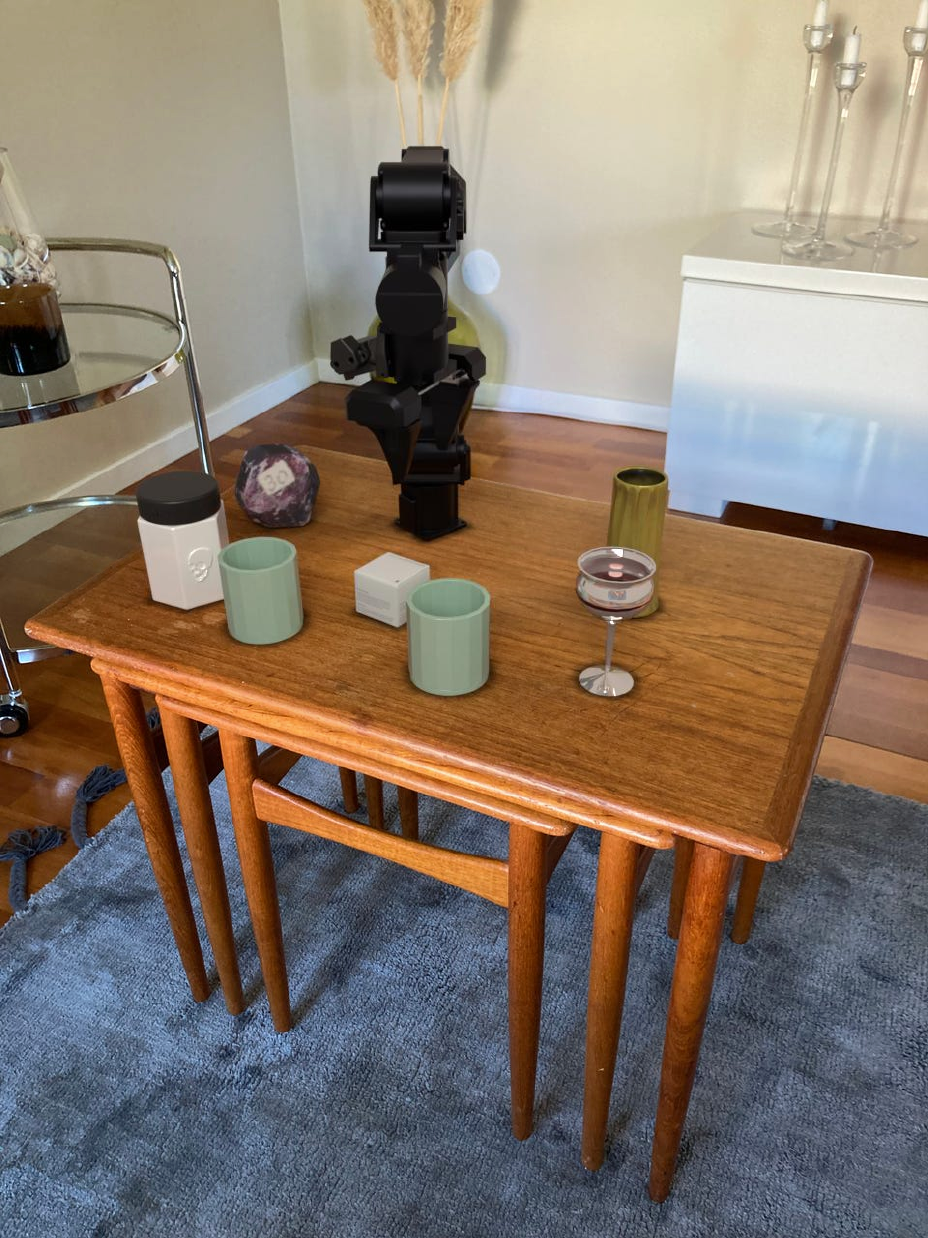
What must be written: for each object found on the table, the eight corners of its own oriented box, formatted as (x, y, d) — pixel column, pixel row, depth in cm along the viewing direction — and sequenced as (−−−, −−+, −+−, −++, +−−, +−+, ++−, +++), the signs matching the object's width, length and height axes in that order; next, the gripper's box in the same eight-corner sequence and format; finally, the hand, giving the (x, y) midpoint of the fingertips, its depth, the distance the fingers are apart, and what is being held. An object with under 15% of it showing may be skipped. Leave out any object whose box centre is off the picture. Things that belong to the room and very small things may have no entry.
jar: (166, 618, 97) (145, 510, 91) (141, 585, 103) (120, 481, 97) (249, 594, 102) (234, 489, 95) (220, 563, 107) (205, 463, 101)
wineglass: (656, 694, 86) (671, 576, 80) (586, 707, 84) (595, 588, 78) (624, 655, 91) (635, 541, 85) (558, 666, 90) (564, 552, 84)
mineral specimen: (215, 523, 112) (221, 436, 111) (261, 522, 122) (267, 442, 121) (289, 533, 109) (296, 444, 108) (330, 531, 119) (337, 450, 118)
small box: (432, 606, 99) (431, 564, 97) (397, 629, 95) (395, 586, 93) (389, 590, 102) (387, 549, 100) (354, 612, 98) (351, 570, 96)
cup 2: (454, 642, 93) (453, 569, 89) (505, 675, 89) (507, 600, 84) (393, 670, 89) (389, 595, 85) (443, 706, 84) (442, 628, 80)
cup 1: (279, 598, 101) (271, 530, 97) (317, 627, 96) (310, 555, 92) (215, 622, 97) (203, 551, 93) (251, 653, 92) (241, 579, 88)
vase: (664, 596, 101) (680, 469, 94) (648, 624, 96) (663, 492, 89) (608, 585, 103) (619, 459, 96) (590, 611, 98) (600, 481, 91)
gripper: (392, 281, 100) (397, 424, 108) (289, 322, 86) (304, 483, 94) (489, 291, 96) (487, 439, 104) (397, 336, 82) (403, 504, 90)
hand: (421, 464), depth 98 cm, fingers open, 9 cm apart
